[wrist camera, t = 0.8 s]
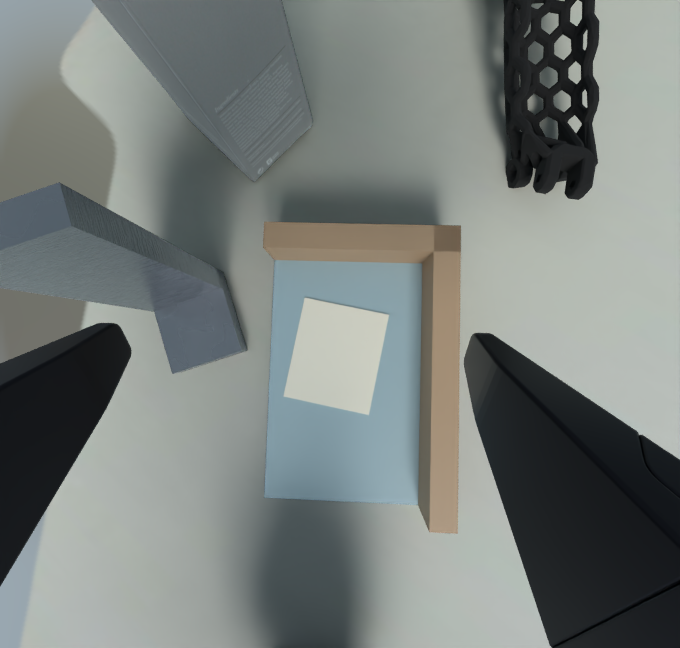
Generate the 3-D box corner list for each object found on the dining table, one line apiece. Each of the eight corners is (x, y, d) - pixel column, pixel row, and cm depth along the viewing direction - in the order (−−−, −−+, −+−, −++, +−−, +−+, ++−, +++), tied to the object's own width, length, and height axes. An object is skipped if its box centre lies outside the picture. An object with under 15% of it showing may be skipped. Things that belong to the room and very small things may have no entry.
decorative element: (454, -58, 24) (486, -186, 18) (520, -70, 24) (574, -203, 18) (505, 225, 23) (558, 185, 17) (575, 214, 23) (653, 170, 17)
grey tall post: (247, 350, 23) (109, 362, 10) (181, 372, 23) (-44, 412, 10) (223, 272, 23) (59, 182, 10) (158, 293, 23) (-88, 231, 10)
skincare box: (316, 127, 23) (246, -317, 8) (246, 193, 23) (29, -119, 7) (239, 52, 24) (24, -512, 8) (171, 116, 24) (-183, -330, 8)
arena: (439, 501, 22) (457, 533, 18) (266, 493, 22) (250, 523, 18) (443, 244, 23) (460, 225, 19) (277, 240, 23) (264, 221, 19)
